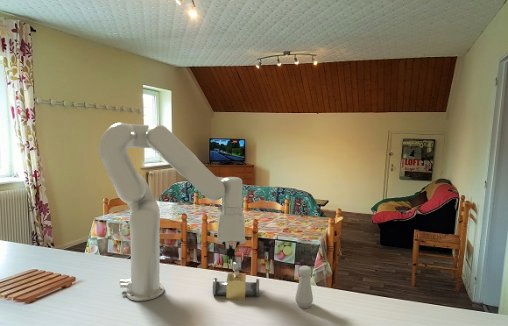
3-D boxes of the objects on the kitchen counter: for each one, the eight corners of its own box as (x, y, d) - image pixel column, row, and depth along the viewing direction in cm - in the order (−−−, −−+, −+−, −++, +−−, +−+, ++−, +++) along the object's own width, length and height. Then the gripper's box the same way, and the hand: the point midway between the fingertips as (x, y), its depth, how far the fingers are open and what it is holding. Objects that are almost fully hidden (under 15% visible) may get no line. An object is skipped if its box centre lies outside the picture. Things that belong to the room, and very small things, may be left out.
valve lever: (240, 271, 110) (240, 264, 110) (231, 270, 110) (232, 263, 110) (243, 258, 122) (243, 251, 121) (235, 258, 122) (235, 251, 121)
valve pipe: (212, 298, 109) (212, 273, 108) (214, 289, 115) (215, 265, 115) (258, 299, 109) (259, 274, 108) (258, 290, 115) (259, 266, 115)
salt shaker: (312, 310, 103) (314, 272, 102) (294, 308, 104) (296, 270, 103) (312, 301, 108) (314, 264, 107) (295, 299, 110) (297, 263, 109)
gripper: (210, 212, 115) (209, 261, 116) (251, 213, 115) (250, 262, 116) (212, 207, 122) (212, 254, 124) (251, 208, 122) (250, 255, 124)
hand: (230, 258), depth 120 cm, fingers closed
